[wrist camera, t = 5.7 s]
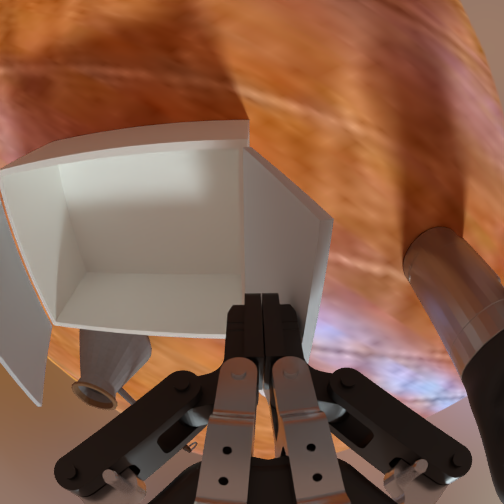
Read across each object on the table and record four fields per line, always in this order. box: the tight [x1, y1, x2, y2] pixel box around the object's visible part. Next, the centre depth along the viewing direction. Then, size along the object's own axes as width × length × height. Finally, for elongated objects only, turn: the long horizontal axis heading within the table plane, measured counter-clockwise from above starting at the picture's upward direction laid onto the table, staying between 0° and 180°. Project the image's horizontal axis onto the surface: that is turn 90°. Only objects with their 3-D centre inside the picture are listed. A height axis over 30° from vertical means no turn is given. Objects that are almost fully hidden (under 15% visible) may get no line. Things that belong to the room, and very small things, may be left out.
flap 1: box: [0, 199, 52, 406], centre depth 18 cm, size 10×17×1 cm
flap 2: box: [243, 147, 334, 404], centre depth 18 cm, size 10×17×1 cm
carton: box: [0, 120, 249, 339], centre depth 27 cm, size 22×18×10 cm
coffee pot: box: [72, 329, 197, 453], centre depth 37 cm, size 21×12×15 cm, turn 49°
